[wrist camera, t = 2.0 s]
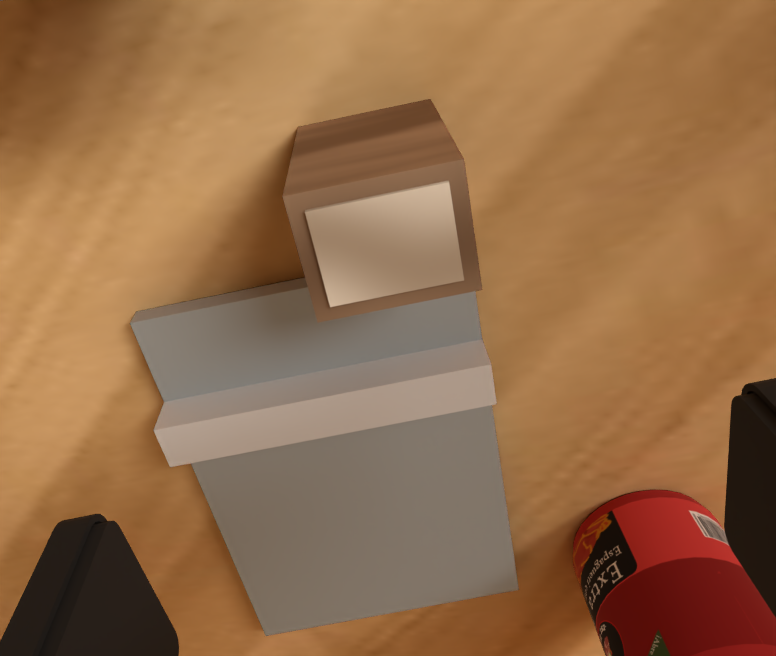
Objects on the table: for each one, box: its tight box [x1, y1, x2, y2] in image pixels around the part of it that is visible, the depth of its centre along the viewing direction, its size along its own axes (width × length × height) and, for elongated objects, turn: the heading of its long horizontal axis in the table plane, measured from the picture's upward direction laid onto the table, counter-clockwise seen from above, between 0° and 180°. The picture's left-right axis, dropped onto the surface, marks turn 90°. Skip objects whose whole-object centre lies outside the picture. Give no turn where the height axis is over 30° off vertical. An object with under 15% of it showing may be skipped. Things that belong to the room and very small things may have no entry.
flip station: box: [130, 278, 519, 636], centre depth 32 cm, size 20×14×3 cm
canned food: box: [573, 490, 776, 656], centre depth 33 cm, size 8×8×11 cm
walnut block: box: [283, 99, 482, 323], centre depth 23 cm, size 4×5×8 cm
